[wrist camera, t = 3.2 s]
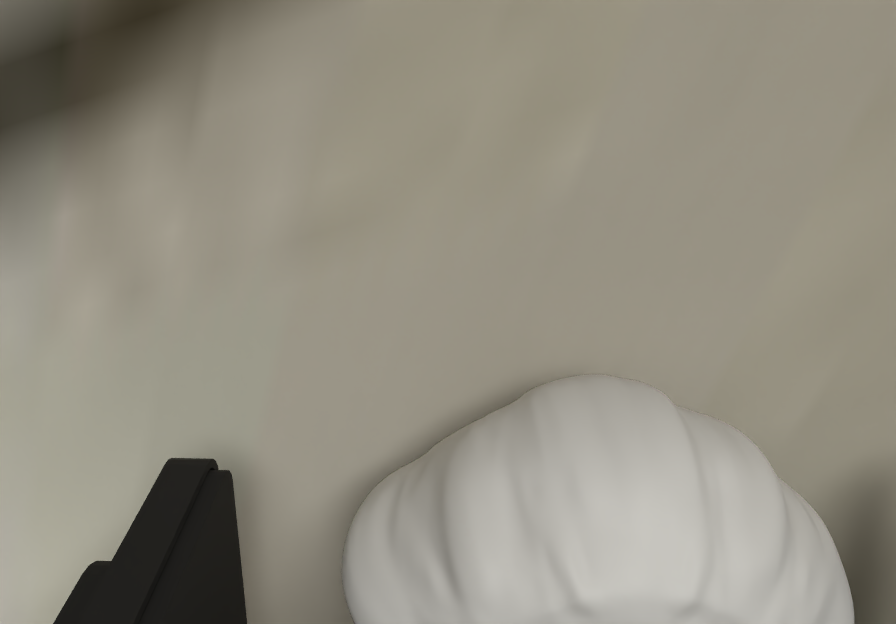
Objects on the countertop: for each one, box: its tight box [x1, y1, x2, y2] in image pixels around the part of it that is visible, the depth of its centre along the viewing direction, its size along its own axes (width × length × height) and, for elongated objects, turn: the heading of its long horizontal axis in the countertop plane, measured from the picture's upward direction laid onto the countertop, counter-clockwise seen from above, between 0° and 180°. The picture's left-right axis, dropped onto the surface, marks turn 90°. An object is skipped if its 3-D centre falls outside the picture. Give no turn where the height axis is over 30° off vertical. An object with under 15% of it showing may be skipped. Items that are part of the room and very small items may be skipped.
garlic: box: [342, 374, 854, 624], centre depth 10 cm, size 6×5×5 cm
